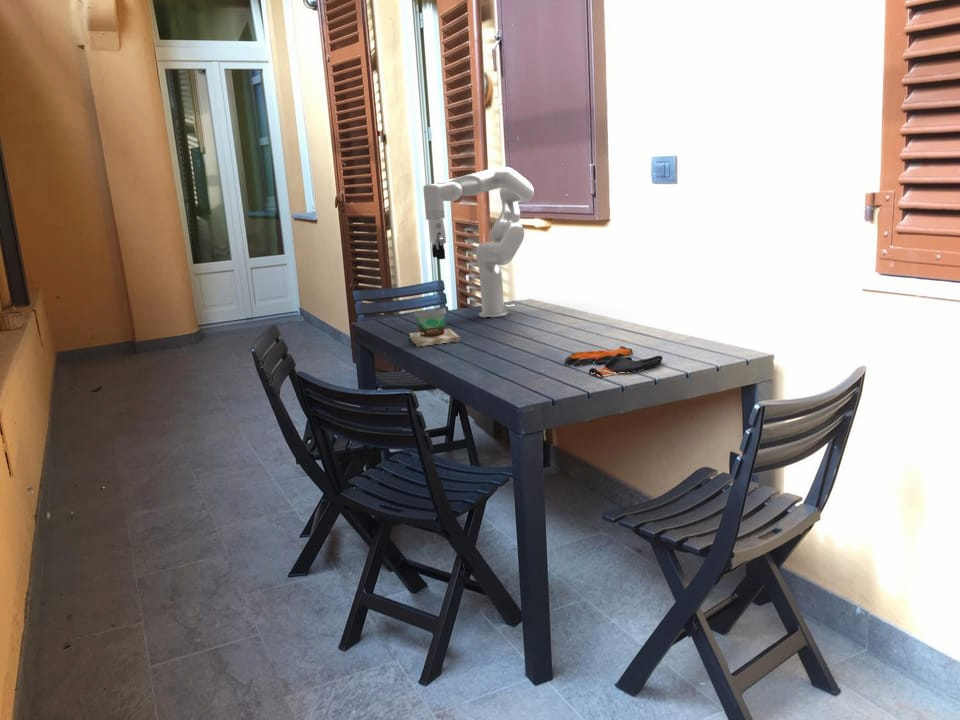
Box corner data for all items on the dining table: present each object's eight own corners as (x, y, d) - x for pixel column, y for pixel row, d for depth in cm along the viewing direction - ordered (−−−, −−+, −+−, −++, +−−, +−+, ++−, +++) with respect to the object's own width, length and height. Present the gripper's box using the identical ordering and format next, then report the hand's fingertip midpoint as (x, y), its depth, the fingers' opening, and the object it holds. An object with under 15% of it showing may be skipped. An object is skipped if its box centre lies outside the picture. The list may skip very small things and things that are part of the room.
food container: (421, 339, 293) (418, 312, 290) (416, 336, 298) (414, 310, 296) (452, 334, 297) (450, 308, 294) (447, 331, 302) (445, 306, 300)
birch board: (450, 333, 309) (449, 328, 309) (459, 341, 292) (459, 336, 292) (410, 338, 306) (409, 333, 305) (417, 347, 289) (416, 341, 288)
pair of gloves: (556, 363, 251) (555, 353, 251) (620, 351, 261) (619, 341, 260) (603, 381, 227) (603, 369, 226) (672, 367, 236) (672, 356, 235)
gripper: (448, 215, 307) (452, 259, 311) (440, 213, 323) (443, 255, 327) (429, 217, 305) (433, 261, 309) (422, 215, 321) (426, 257, 325)
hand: (438, 258), depth 318 cm, fingers open, 9 cm apart
